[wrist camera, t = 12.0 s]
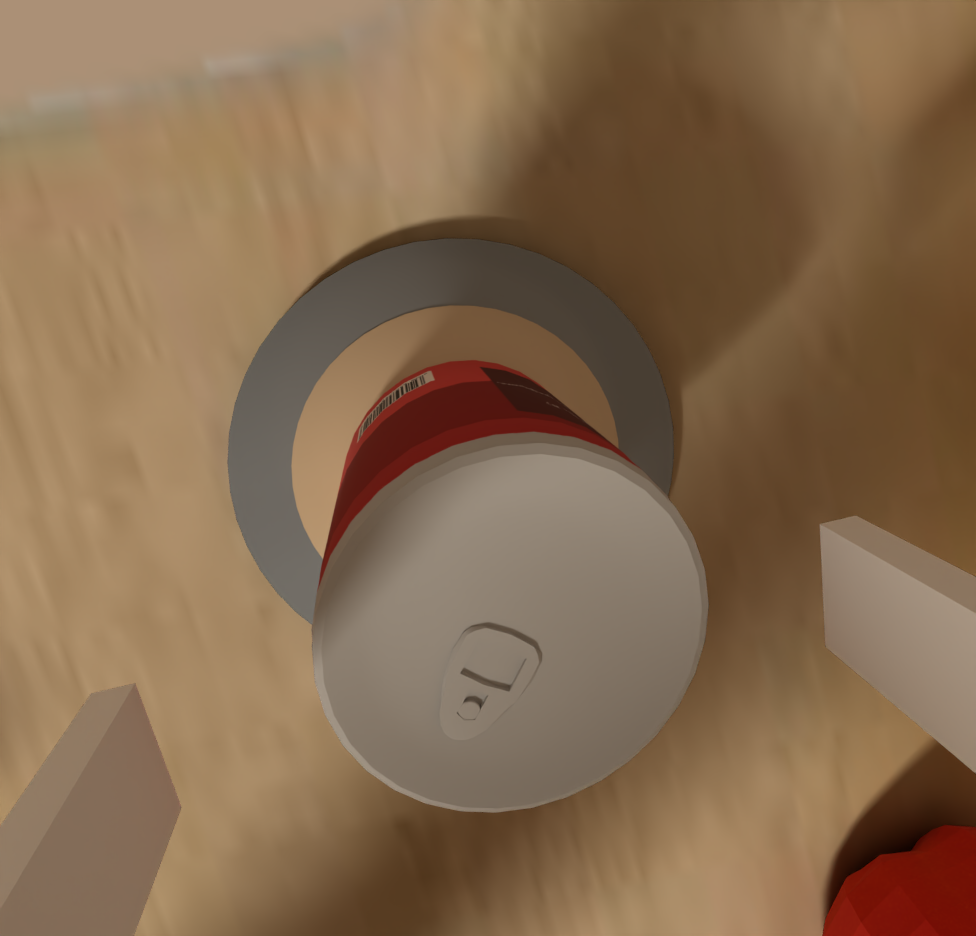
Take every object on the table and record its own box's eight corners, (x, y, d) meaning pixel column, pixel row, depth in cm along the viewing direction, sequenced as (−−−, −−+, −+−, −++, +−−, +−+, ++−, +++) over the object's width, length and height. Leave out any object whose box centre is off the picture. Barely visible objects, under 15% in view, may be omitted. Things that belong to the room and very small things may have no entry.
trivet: (297, 696, 26) (294, 711, 25) (173, 286, 22) (164, 288, 21) (683, 607, 27) (692, 618, 27) (641, 200, 23) (651, 198, 22)
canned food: (328, 567, 24) (282, 806, 14) (364, 333, 22) (343, 403, 12) (543, 595, 25) (652, 830, 15) (596, 377, 23) (764, 475, 13)
